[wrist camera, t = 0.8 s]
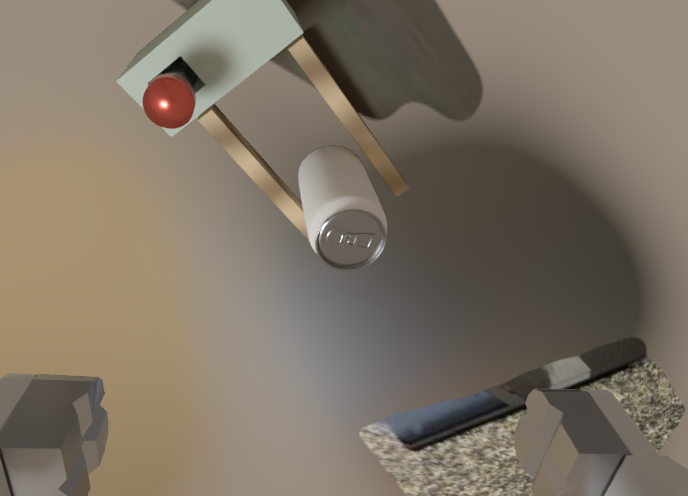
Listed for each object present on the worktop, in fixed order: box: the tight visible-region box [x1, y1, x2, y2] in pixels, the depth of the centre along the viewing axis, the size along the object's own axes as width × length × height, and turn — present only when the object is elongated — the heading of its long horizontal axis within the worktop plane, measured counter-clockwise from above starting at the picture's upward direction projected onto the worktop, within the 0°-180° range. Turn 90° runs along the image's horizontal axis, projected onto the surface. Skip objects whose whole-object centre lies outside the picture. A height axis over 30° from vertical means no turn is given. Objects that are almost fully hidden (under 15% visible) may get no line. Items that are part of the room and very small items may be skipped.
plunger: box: [143, 60, 196, 129], centre depth 34 cm, size 3×3×8 cm
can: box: [298, 145, 387, 271], centre depth 45 cm, size 6×6×12 cm
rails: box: [198, 34, 409, 240], centre depth 47 cm, size 17×11×2 cm, turn 34°
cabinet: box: [116, 0, 304, 137], centre depth 38 cm, size 5×12×8 cm, turn 125°
